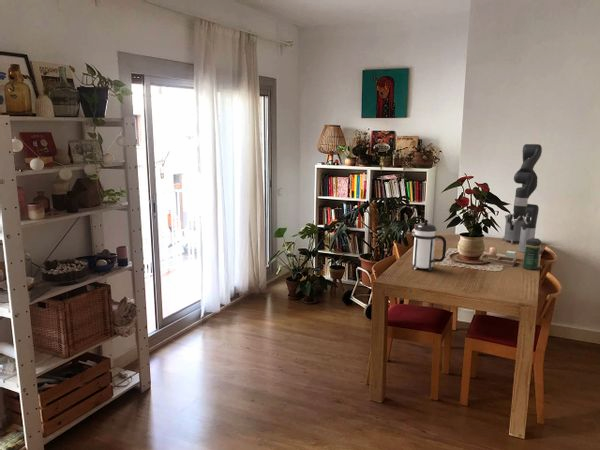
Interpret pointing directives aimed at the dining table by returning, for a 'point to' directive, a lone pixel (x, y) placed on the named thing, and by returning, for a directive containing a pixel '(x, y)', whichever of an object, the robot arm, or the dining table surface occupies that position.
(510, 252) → the sage block
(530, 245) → the coffee jar
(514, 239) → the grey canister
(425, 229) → the coffee press
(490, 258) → the walnut tray
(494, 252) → the peach oval shape
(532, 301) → the dining table surface
